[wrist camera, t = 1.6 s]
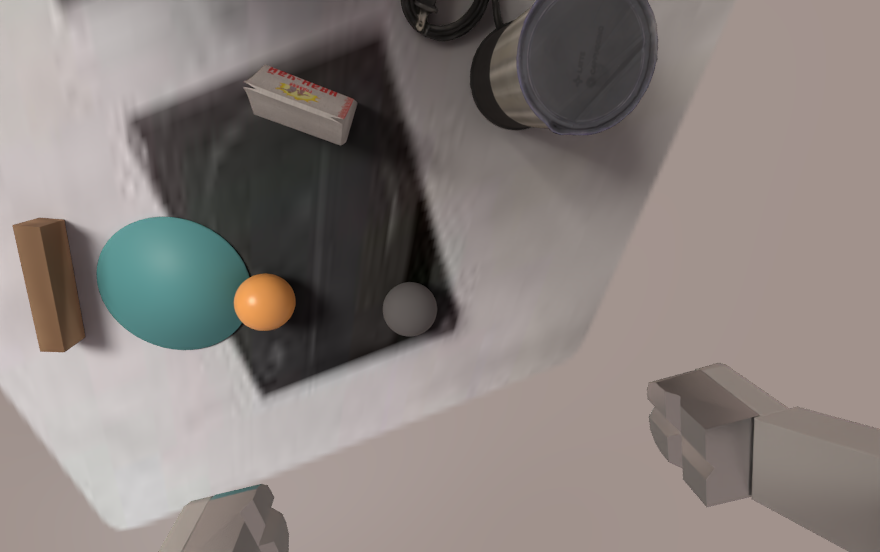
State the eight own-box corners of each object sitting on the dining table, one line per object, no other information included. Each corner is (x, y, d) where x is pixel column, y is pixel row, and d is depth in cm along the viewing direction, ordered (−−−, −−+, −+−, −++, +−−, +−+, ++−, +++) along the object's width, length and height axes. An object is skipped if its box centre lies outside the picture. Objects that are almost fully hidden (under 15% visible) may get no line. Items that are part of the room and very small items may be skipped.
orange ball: (244, 314, 44) (226, 340, 39) (242, 264, 42) (223, 283, 37) (299, 317, 45) (289, 342, 40) (300, 267, 43) (289, 287, 38)
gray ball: (381, 320, 46) (381, 345, 41) (384, 273, 44) (384, 292, 39) (431, 322, 47) (437, 347, 42) (436, 276, 45) (443, 295, 40)
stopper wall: (62, 336, 42) (40, 351, 39) (39, 217, 38) (12, 225, 36) (85, 337, 42) (64, 352, 40) (64, 219, 39) (39, 227, 36)
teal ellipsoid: (108, 346, 43) (107, 347, 43) (87, 210, 39) (85, 210, 38) (253, 351, 45) (253, 352, 45) (249, 223, 41) (248, 223, 41)
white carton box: (346, 142, 40) (335, 148, 30) (272, 115, 38) (236, 112, 29) (357, 102, 39) (350, 95, 29) (282, 73, 37) (248, 56, 28)
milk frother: (556, 135, 42) (642, 140, 28) (396, 124, 40) (404, 124, 26) (581, -36, 37) (699, -130, 23) (401, -59, 35) (414, -179, 21)
